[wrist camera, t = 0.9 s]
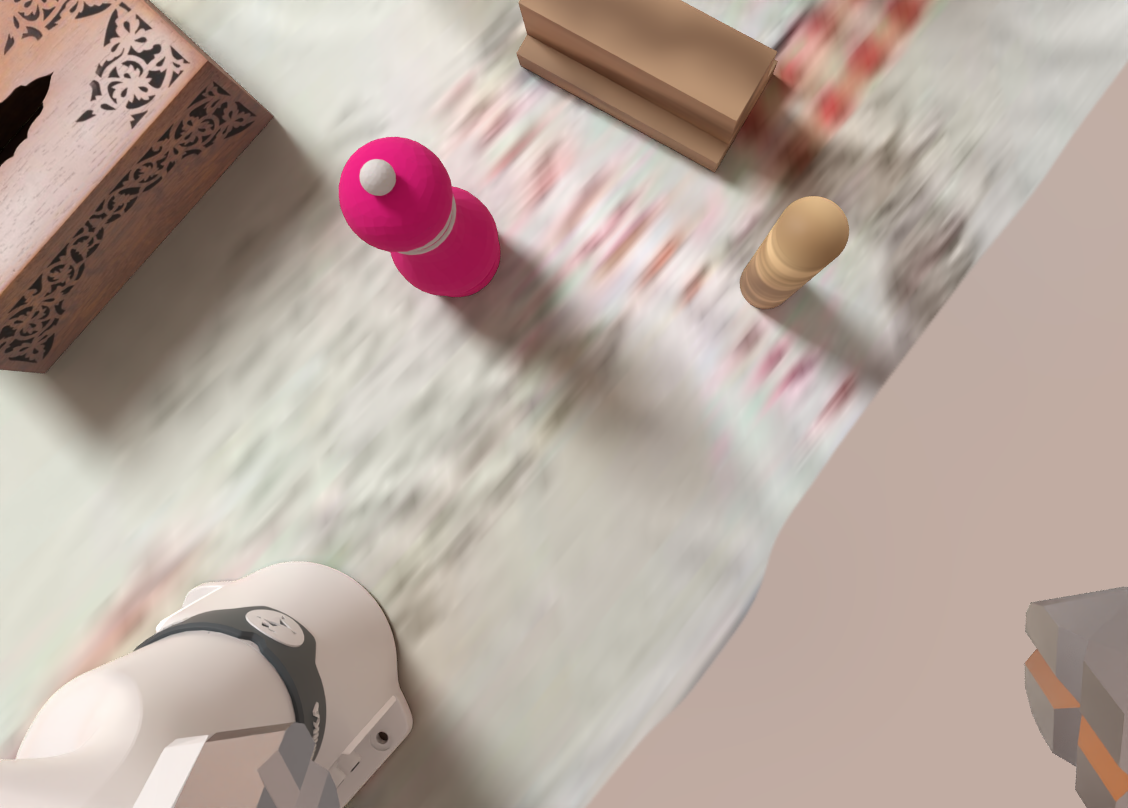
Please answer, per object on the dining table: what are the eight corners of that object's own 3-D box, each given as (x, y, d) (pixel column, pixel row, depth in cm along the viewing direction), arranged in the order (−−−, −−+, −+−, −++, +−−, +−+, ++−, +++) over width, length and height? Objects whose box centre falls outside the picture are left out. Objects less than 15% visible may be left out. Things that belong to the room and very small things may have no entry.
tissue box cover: (47, 373, 64) (-61, 364, 54) (-82, 246, 66) (-210, 213, 56) (275, 117, 63) (207, 60, 53) (140, -8, 65) (50, -87, 55)
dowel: (775, 318, 60) (825, 279, 44) (730, 292, 60) (763, 244, 44) (802, 273, 60) (862, 217, 44) (756, 248, 60) (799, 183, 44)
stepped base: (714, 172, 60) (724, 141, 54) (520, 65, 62) (506, 22, 55) (772, 73, 60) (789, 30, 54) (576, -32, 61) (569, -86, 55)
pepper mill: (501, 198, 62) (436, 88, 42) (513, 297, 61) (453, 235, 41) (403, 211, 62) (293, 110, 42) (414, 310, 62) (308, 255, 42)
